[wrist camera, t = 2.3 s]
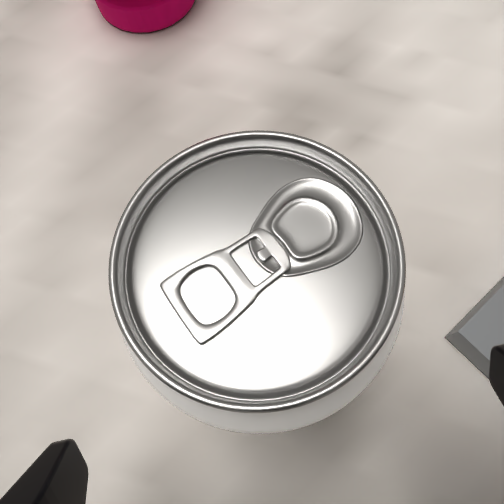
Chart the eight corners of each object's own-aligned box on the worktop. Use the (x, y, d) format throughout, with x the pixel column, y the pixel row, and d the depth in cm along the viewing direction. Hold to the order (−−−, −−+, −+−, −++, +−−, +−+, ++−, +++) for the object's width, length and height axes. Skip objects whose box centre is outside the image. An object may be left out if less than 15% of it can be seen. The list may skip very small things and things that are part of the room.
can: (371, 360, 19) (508, 288, 8) (251, 455, 18) (207, 532, 7) (281, 249, 21) (286, 63, 10) (169, 329, 20) (28, 224, 9)
